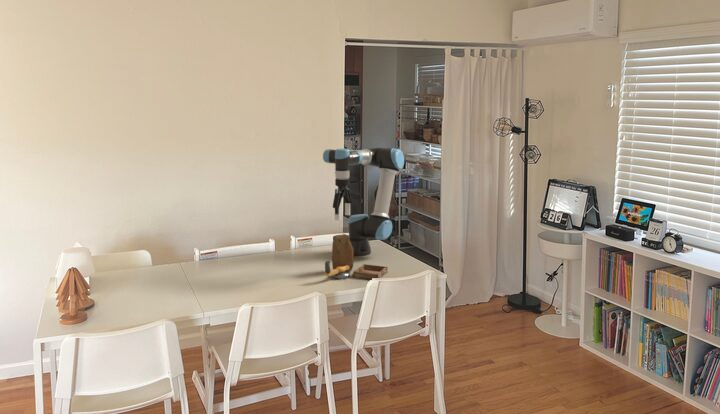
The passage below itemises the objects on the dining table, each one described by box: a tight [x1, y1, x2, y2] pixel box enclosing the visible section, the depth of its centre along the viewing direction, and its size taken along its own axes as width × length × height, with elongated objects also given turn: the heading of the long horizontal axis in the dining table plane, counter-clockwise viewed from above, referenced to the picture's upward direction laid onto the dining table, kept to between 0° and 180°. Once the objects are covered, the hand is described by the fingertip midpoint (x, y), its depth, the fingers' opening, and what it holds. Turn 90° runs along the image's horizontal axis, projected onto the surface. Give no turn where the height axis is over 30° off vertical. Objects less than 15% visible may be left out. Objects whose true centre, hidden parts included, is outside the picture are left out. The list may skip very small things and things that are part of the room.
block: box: [331, 233, 354, 272], centre depth 336 cm, size 11×8×20 cm
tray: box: [352, 263, 388, 280], centre depth 330 cm, size 15×14×3 cm
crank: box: [324, 260, 350, 277], centre depth 324 cm, size 17×5×8 cm, turn 140°
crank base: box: [330, 271, 351, 280], centre depth 327 cm, size 10×10×3 cm
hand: (342, 217), depth 332 cm, fingers open, 13 cm apart
